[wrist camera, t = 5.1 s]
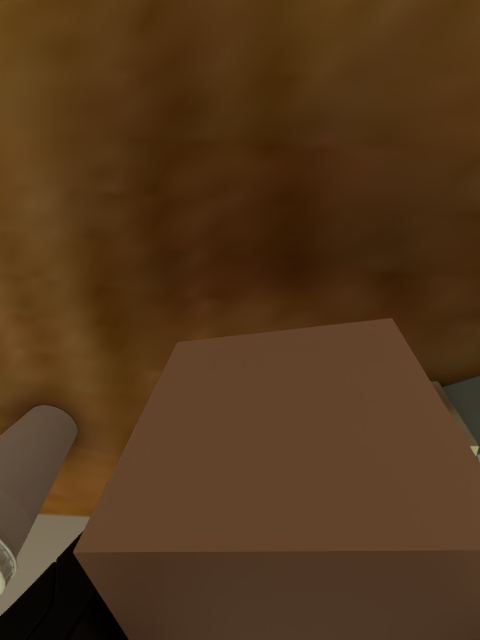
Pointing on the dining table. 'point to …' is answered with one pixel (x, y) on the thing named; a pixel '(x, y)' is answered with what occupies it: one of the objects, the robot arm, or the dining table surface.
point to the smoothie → (29, 476)
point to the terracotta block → (291, 496)
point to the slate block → (467, 404)
